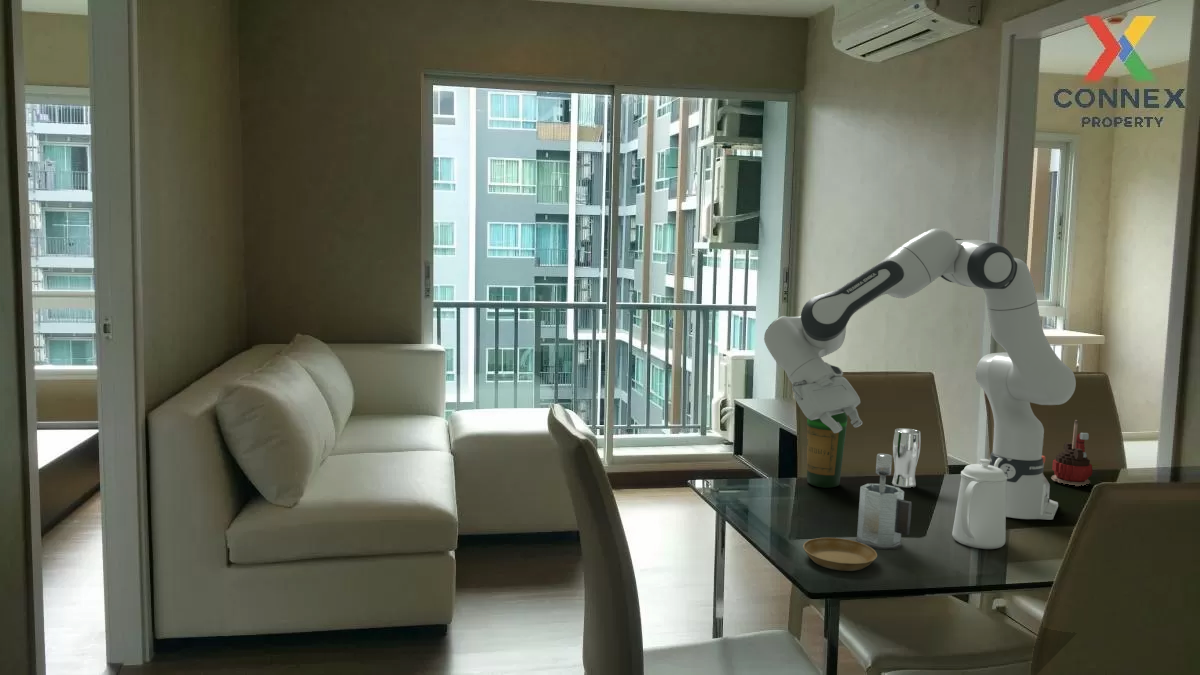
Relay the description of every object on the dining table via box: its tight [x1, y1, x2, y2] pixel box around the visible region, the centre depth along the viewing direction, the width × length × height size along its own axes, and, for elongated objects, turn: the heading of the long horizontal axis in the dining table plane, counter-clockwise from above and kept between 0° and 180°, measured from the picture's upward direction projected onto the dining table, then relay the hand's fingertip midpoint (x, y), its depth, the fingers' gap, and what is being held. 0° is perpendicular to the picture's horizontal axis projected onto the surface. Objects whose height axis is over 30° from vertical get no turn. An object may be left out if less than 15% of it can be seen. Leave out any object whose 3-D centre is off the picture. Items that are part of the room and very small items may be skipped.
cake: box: [1050, 419, 1093, 487], centre depth 250 cm, size 11×9×18 cm
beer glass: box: [891, 427, 921, 489], centre depth 243 cm, size 7×7×15 cm
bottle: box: [806, 412, 849, 489], centre depth 240 cm, size 11×11×28 cm
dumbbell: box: [875, 453, 893, 493], centre depth 194 cm, size 5×5×17 cm
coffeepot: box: [951, 458, 1007, 550], centre depth 197 cm, size 11×25×19 cm, turn 141°
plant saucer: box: [802, 537, 878, 572], centre depth 184 cm, size 15×15×3 cm
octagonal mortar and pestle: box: [856, 483, 913, 551], centre depth 194 cm, size 9×11×12 cm
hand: (849, 428), depth 199 cm, fingers open, 8 cm apart
